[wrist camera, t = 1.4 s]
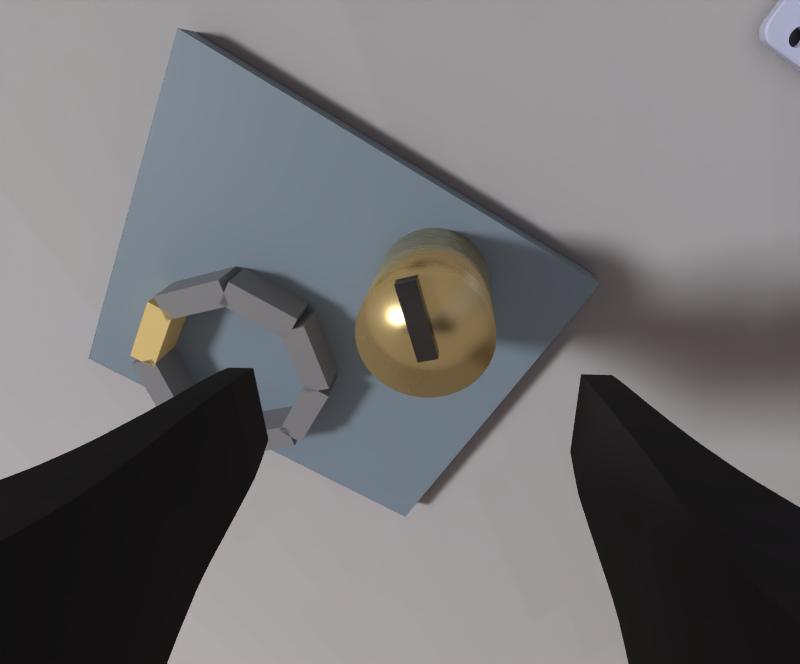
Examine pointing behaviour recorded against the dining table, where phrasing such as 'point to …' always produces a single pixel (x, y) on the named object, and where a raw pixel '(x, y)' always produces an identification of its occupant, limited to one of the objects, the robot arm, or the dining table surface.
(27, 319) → the dining table surface
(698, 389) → the dining table surface
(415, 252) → the knob
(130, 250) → the blue-grey flat slab
